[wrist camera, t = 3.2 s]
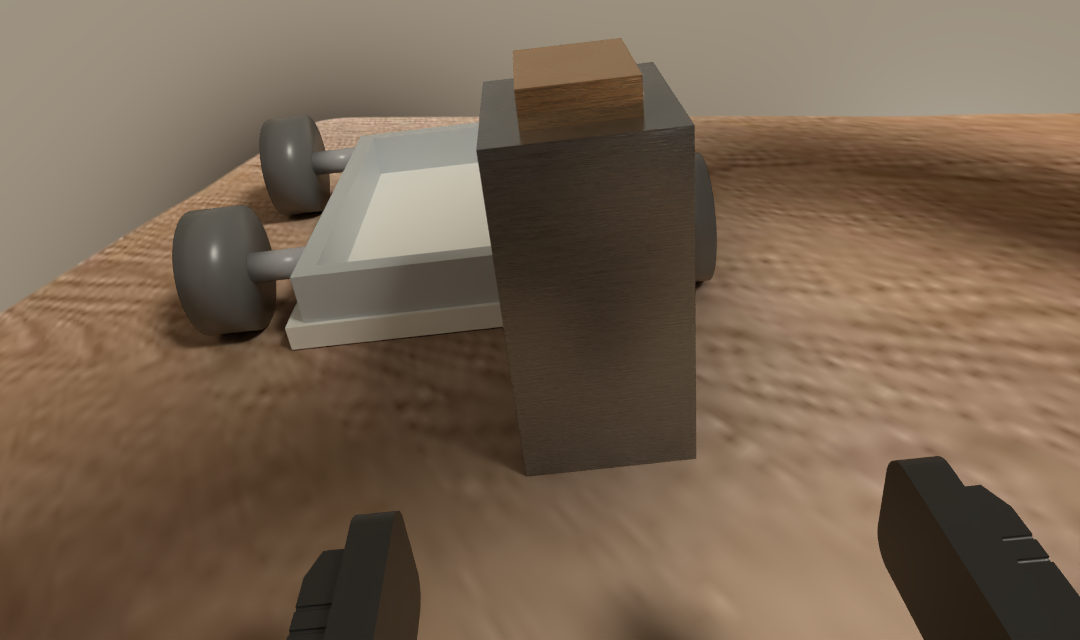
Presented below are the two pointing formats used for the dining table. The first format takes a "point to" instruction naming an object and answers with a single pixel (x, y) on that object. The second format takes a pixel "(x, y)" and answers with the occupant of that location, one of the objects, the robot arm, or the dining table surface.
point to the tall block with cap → (593, 255)
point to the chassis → (364, 240)
